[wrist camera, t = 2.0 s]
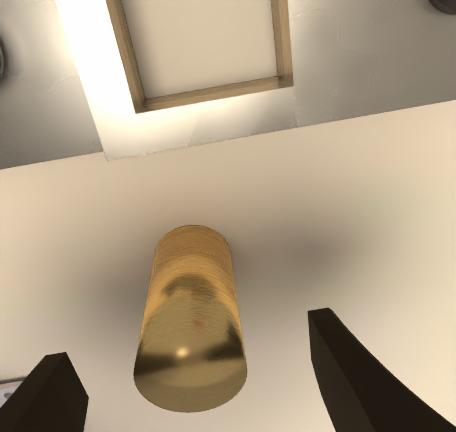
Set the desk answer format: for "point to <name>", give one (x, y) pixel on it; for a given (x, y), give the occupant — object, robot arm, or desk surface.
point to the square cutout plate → (217, 96)
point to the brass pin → (191, 325)
